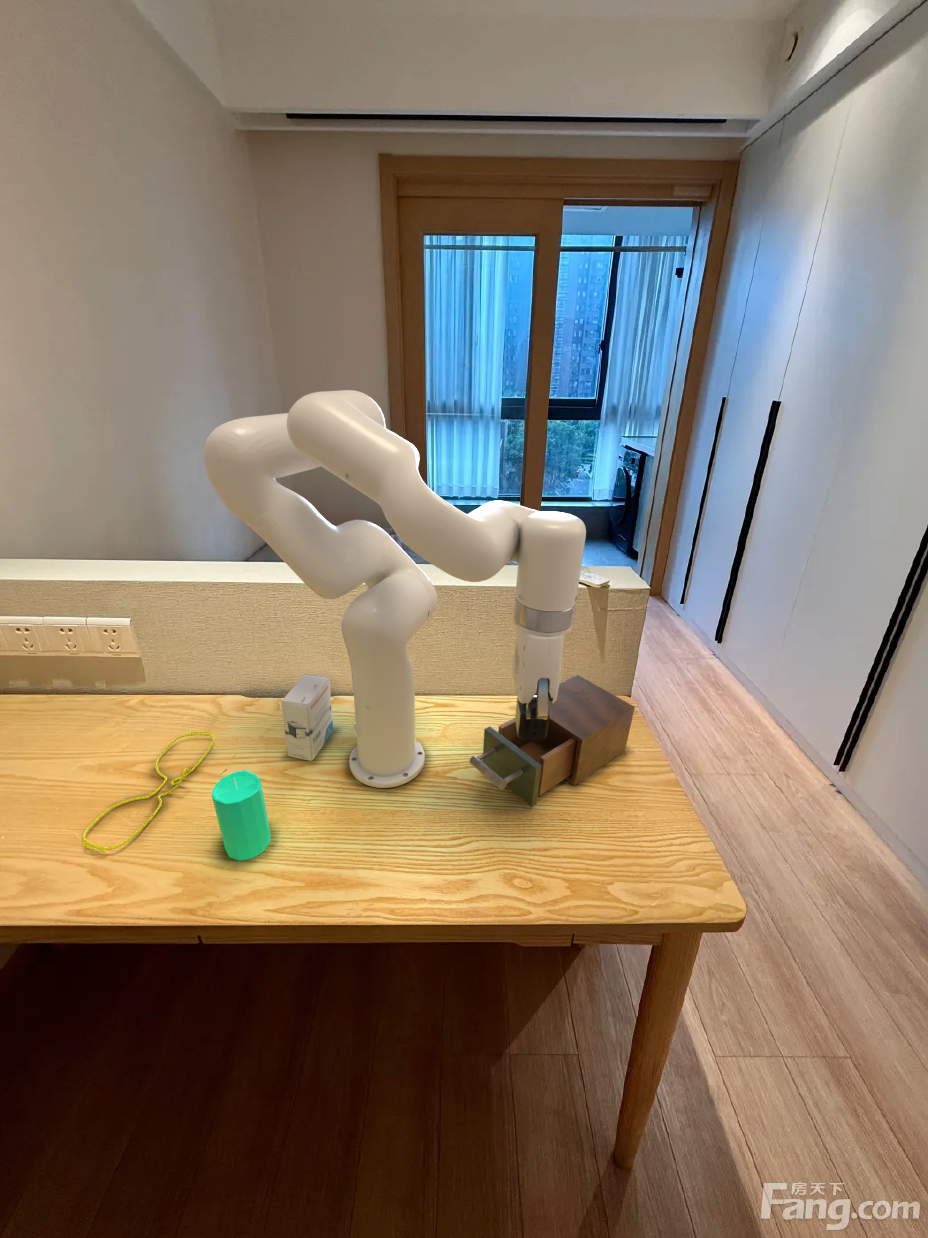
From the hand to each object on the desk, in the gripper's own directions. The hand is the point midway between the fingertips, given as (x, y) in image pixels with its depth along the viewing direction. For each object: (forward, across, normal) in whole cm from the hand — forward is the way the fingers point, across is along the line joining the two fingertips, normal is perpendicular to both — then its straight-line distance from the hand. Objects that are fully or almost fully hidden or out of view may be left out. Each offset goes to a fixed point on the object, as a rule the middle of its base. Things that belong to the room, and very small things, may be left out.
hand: (530, 726), depth 73 cm
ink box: (+16, -14, -36) cm, 41 cm away
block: (0, 0, 0) cm, 0 cm away
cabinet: (+15, -13, +11) cm, 23 cm away
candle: (+15, +7, -39) cm, 43 cm away
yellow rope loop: (+16, -2, -56) cm, 58 cm away
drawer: (+14, -5, +1) cm, 15 cm away
